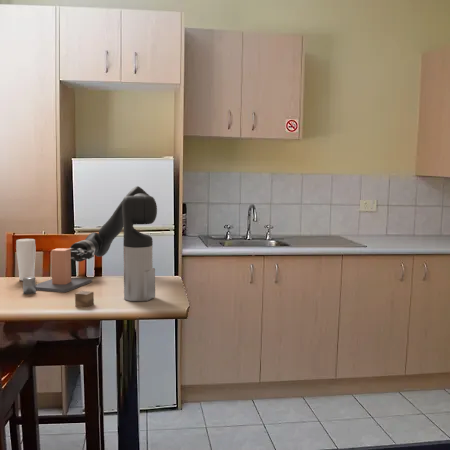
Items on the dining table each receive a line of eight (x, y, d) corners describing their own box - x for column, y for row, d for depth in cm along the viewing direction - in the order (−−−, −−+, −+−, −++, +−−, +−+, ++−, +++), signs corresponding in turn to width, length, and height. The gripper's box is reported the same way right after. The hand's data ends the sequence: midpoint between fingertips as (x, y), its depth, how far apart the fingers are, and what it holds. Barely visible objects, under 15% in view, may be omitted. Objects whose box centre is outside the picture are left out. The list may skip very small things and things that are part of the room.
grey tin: (38, 291, 185) (37, 277, 184) (31, 294, 181) (30, 279, 181) (28, 291, 186) (27, 276, 185) (20, 293, 182) (20, 278, 182)
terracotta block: (71, 281, 197) (70, 248, 196) (65, 284, 192) (65, 250, 191) (57, 281, 198) (57, 248, 196) (52, 284, 193) (51, 250, 191)
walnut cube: (93, 304, 169) (93, 291, 169) (87, 307, 165) (86, 294, 165) (82, 303, 170) (81, 290, 170) (75, 306, 166) (75, 293, 166)
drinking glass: (16, 281, 200) (15, 241, 199) (18, 278, 207) (16, 238, 205) (35, 281, 202) (34, 240, 201) (37, 277, 209) (35, 238, 207)
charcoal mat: (92, 281, 202) (92, 279, 201) (65, 292, 184) (64, 289, 184) (58, 279, 205) (58, 276, 205) (29, 289, 188) (29, 286, 188)
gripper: (100, 260, 215) (85, 267, 199) (65, 259, 217) (47, 266, 201) (100, 241, 214) (85, 247, 198) (65, 240, 216) (47, 246, 200)
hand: (66, 257), depth 199 cm, fingers open, 8 cm apart
